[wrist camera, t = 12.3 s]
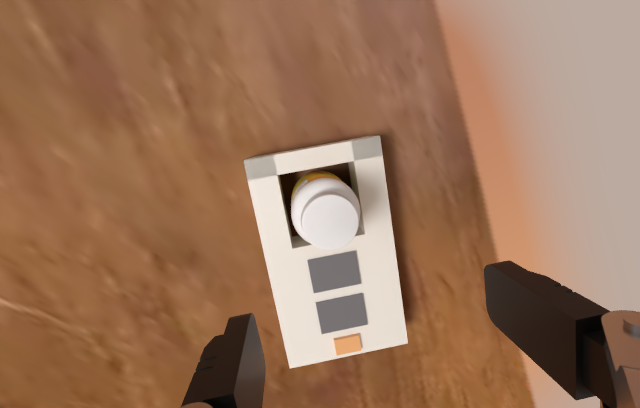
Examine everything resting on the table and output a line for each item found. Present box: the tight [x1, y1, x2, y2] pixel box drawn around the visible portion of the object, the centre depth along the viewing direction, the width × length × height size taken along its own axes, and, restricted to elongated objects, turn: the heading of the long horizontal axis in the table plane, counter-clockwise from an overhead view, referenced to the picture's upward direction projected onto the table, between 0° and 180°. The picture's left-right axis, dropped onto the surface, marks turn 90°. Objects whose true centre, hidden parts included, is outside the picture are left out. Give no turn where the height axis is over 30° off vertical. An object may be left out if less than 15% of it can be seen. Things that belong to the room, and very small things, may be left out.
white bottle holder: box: [243, 136, 408, 368], centre depth 31 cm, size 20×12×4 cm, turn 10°
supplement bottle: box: [291, 171, 360, 250], centre depth 27 cm, size 5×5×10 cm
